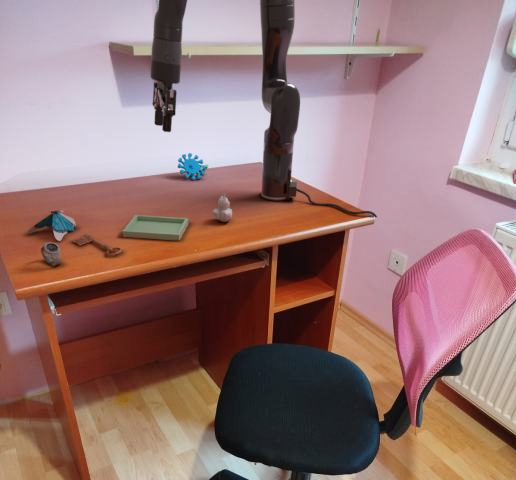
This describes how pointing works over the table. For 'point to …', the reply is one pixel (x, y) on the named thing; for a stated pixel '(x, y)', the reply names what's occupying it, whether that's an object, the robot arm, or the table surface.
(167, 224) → the tray
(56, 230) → the decorative butterfly
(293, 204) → the table surface
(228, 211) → the white plastic figurine
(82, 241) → the key
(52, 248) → the grey round container
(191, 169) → the blue virus model
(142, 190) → the table surface
